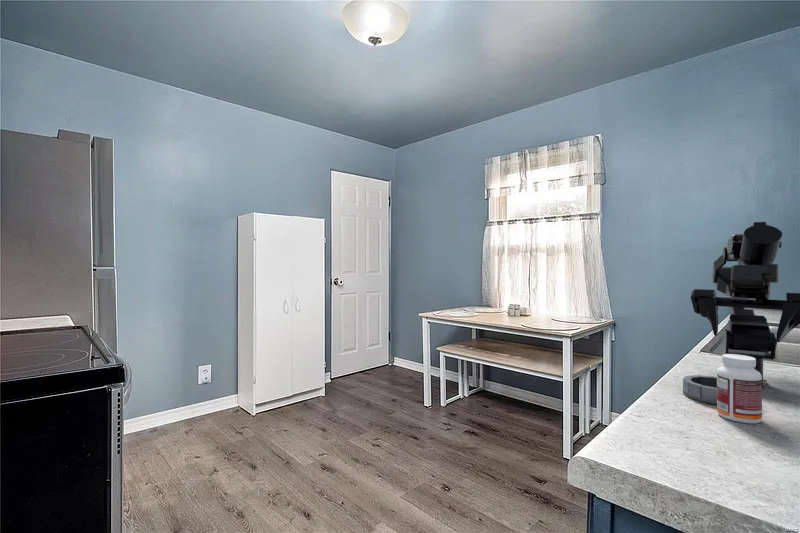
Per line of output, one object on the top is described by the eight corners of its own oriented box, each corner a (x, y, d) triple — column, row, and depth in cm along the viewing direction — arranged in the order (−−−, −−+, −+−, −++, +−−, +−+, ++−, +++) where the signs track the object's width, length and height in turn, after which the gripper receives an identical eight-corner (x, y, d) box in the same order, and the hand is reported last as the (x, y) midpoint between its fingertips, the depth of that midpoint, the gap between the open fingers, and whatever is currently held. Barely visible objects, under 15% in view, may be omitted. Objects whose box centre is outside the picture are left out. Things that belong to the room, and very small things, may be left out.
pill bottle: (767, 419, 71) (767, 357, 71) (755, 427, 67) (755, 362, 67) (724, 408, 76) (724, 351, 76) (711, 416, 73) (711, 355, 72)
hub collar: (689, 385, 90) (689, 372, 90) (753, 397, 82) (753, 382, 82) (676, 397, 82) (676, 382, 82) (745, 411, 75) (745, 395, 75)
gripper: (692, 251, 87) (679, 306, 80) (816, 249, 73) (814, 315, 66) (700, 286, 92) (689, 340, 85) (817, 290, 79) (815, 355, 71)
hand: (745, 337), depth 77 cm, fingers open, 9 cm apart
